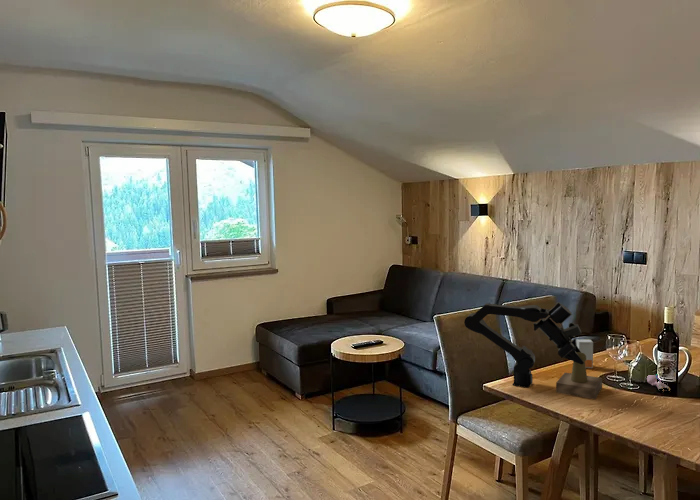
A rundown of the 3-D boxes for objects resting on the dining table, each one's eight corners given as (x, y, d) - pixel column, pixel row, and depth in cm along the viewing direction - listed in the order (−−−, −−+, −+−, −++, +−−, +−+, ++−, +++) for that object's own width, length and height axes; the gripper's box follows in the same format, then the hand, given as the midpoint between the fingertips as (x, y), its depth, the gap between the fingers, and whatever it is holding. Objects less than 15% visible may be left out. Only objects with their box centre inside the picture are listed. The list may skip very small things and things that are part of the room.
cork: (591, 381, 201) (591, 353, 200) (579, 383, 199) (579, 355, 198) (579, 376, 206) (578, 349, 205) (567, 379, 204) (567, 352, 203)
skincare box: (578, 368, 229) (578, 341, 228) (576, 365, 233) (576, 339, 232) (593, 368, 228) (593, 341, 227) (590, 365, 232) (590, 339, 231)
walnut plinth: (556, 392, 201) (556, 382, 201) (564, 381, 213) (564, 372, 212) (595, 399, 193) (595, 388, 193) (602, 387, 204) (602, 377, 204)
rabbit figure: (674, 395, 197) (651, 376, 212) (676, 381, 196) (652, 363, 210) (658, 396, 197) (636, 377, 212) (659, 382, 196) (637, 363, 210)
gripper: (567, 323, 193) (600, 354, 190) (568, 312, 210) (598, 341, 207) (545, 342, 197) (576, 373, 194) (548, 330, 214) (577, 358, 211)
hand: (583, 360), depth 201 cm, fingers open, 8 cm apart
